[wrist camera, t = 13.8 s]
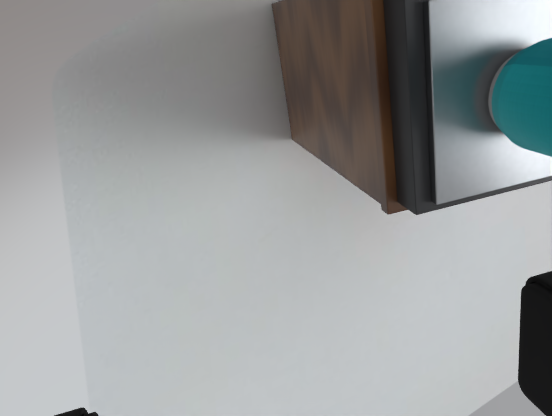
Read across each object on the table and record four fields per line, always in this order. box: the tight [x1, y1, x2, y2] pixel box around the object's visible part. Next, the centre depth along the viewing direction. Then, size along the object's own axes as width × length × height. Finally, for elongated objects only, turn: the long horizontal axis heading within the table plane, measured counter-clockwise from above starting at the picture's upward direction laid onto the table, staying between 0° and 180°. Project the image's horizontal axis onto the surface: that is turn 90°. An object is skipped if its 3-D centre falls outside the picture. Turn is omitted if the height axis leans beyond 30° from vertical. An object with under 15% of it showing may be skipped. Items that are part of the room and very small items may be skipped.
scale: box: [383, 0, 552, 215], centre depth 27 cm, size 13×13×3 cm
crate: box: [272, 0, 408, 214], centre depth 40 cm, size 14×14×24 cm
